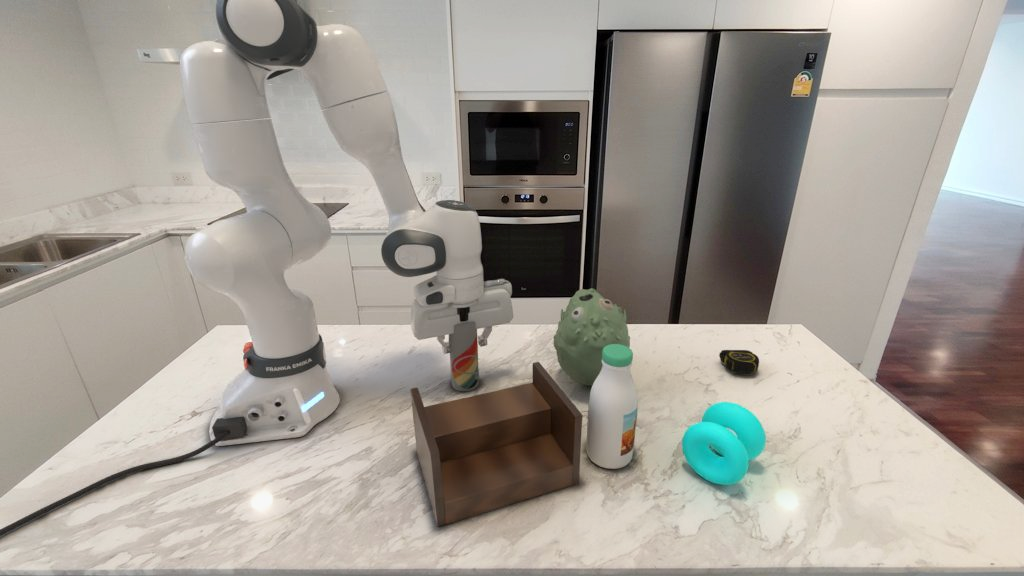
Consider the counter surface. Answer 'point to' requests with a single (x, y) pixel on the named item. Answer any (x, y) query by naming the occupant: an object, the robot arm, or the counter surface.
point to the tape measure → (740, 361)
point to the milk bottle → (612, 410)
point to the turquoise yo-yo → (724, 443)
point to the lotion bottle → (464, 353)
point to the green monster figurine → (588, 334)
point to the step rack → (497, 447)
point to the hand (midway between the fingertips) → (465, 348)
